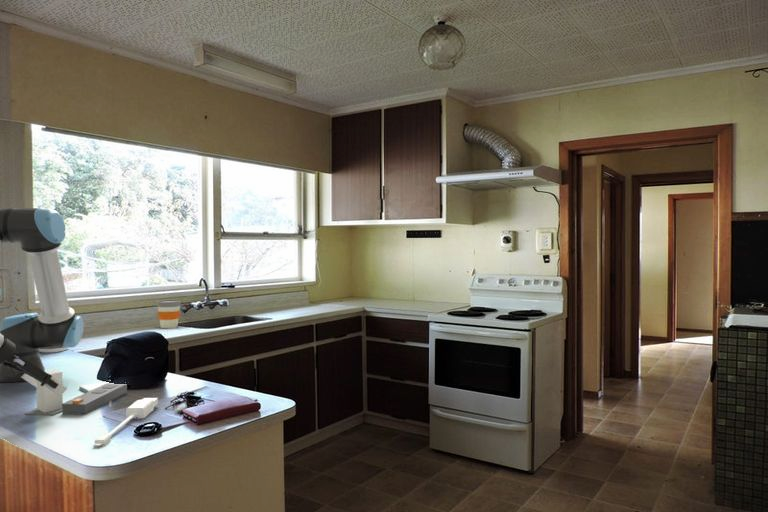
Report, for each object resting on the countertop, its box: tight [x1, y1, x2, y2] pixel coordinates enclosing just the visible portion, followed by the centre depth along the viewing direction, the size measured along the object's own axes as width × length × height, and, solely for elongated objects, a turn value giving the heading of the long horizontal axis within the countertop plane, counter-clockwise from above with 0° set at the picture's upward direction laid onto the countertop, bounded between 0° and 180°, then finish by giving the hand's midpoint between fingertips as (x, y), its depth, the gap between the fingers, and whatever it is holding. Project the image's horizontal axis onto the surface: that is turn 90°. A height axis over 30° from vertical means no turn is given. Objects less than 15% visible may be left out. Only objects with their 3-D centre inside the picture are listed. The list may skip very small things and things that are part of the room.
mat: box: [24, 407, 62, 416], centre depth 162 cm, size 9×9×1 cm
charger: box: [36, 369, 64, 412], centre depth 162 cm, size 5×5×11 cm
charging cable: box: [92, 397, 159, 447], centre depth 150 cm, size 5×32×3 cm, turn 1°
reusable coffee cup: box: [156, 299, 181, 329], centre depth 308 cm, size 13×13×15 cm
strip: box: [61, 383, 128, 415], centre depth 173 cm, size 30×7×4 cm, turn 175°
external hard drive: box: [79, 381, 114, 393], centre depth 186 cm, size 2×8×12 cm
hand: (52, 388), depth 162 cm, fingers open, 13 cm apart
